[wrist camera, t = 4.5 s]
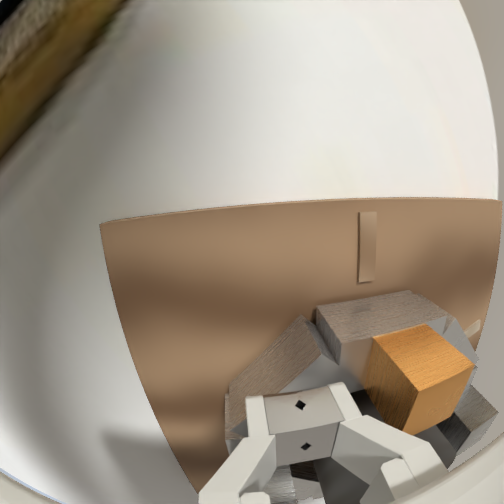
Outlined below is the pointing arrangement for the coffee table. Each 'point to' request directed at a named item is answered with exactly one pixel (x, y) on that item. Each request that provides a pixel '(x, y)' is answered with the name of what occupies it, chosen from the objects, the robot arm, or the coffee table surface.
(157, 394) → the base plate
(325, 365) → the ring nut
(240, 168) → the coffee table surface
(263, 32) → the coffee table surface
